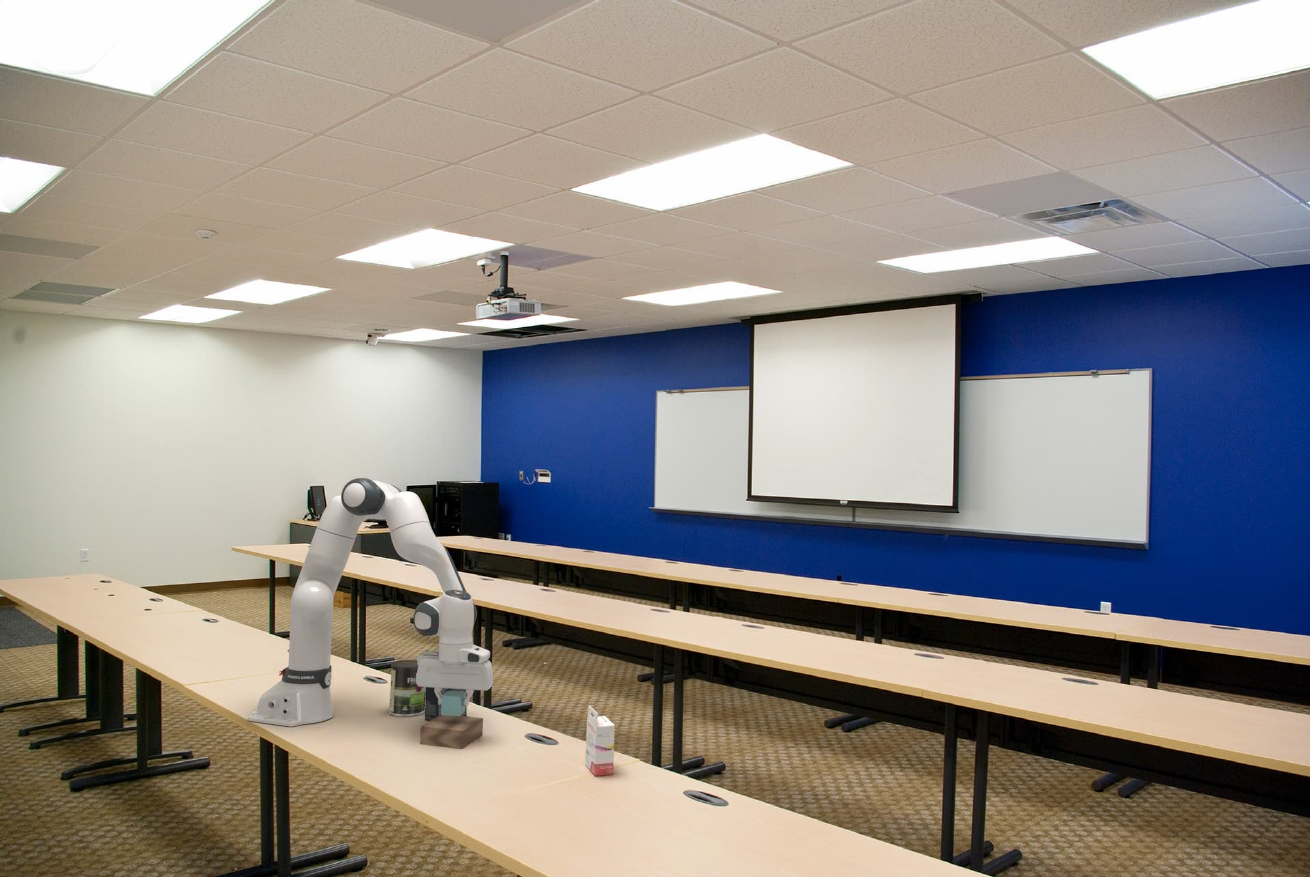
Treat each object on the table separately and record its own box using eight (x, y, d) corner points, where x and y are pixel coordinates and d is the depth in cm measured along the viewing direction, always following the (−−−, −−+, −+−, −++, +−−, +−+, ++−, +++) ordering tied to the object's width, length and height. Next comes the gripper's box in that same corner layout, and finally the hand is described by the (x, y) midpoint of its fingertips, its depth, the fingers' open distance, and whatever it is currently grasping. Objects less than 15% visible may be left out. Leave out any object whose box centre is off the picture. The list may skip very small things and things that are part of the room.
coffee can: (432, 711, 251) (434, 663, 251) (403, 719, 243) (405, 669, 243) (410, 705, 257) (412, 658, 258) (381, 712, 249) (383, 663, 249)
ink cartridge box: (614, 774, 204) (616, 712, 204) (594, 776, 202) (596, 714, 203) (603, 763, 212) (605, 703, 212) (584, 764, 210) (586, 704, 211)
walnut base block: (419, 745, 221) (420, 726, 222) (441, 732, 233) (442, 713, 233) (462, 750, 219) (462, 730, 219) (482, 736, 230) (483, 718, 230)
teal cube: (440, 715, 224) (441, 695, 224) (447, 709, 229) (448, 691, 229) (459, 716, 224) (460, 697, 224) (465, 710, 229) (466, 692, 229)
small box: (453, 712, 251) (455, 676, 251) (467, 717, 247) (469, 680, 247) (423, 720, 242) (424, 682, 243) (437, 725, 238) (438, 687, 239)
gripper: (413, 653, 225) (411, 706, 224) (489, 657, 223) (487, 710, 222) (422, 648, 231) (420, 699, 230) (495, 652, 229) (493, 703, 229)
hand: (453, 705), depth 226 cm, fingers closed on teal cube, 5 cm apart
